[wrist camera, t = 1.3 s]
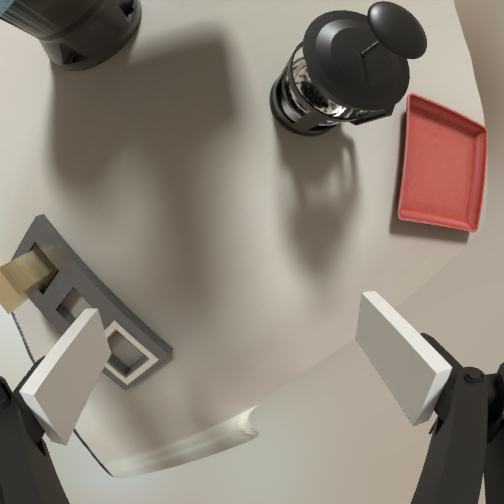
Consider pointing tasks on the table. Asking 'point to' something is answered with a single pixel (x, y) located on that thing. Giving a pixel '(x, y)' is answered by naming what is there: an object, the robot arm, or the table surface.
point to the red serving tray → (442, 166)
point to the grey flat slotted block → (97, 296)
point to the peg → (24, 278)
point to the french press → (349, 68)
